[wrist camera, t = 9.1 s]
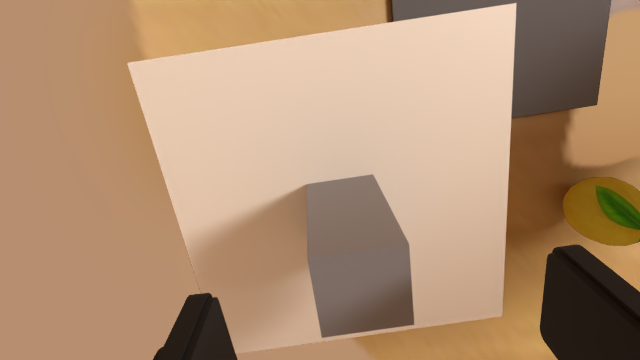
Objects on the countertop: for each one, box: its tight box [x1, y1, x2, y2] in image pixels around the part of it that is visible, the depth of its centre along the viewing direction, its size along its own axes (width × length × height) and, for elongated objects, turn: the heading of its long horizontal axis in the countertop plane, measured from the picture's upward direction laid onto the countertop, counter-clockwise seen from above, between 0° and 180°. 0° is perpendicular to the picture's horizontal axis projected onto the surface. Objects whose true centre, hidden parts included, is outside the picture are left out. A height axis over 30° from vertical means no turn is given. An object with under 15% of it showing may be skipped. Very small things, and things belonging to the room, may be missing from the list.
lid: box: [127, 3, 517, 354], centre depth 15 cm, size 15×15×8 cm
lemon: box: [563, 177, 640, 246], centre depth 30 cm, size 7×6×10 cm
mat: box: [391, 0, 611, 118], centre depth 29 cm, size 17×17×1 cm
